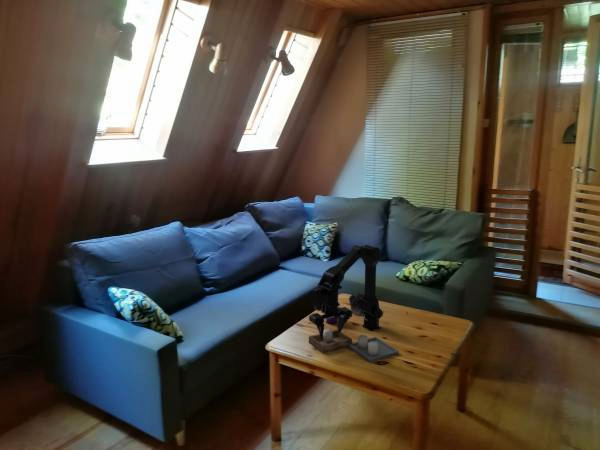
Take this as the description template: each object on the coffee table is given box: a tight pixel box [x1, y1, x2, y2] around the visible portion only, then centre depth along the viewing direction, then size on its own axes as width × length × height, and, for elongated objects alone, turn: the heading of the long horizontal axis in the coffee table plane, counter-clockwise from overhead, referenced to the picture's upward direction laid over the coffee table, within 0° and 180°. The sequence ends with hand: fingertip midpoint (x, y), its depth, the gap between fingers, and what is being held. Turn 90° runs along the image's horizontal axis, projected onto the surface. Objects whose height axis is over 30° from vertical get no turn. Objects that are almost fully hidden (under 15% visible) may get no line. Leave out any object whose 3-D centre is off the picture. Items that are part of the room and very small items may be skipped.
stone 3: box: [368, 342, 378, 356], centre depth 189 cm, size 4×4×4 cm
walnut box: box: [308, 328, 353, 354], centre depth 199 cm, size 15×11×3 cm
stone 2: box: [357, 334, 369, 349], centre depth 195 cm, size 4×4×4 cm
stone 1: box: [323, 328, 333, 343], centre depth 200 cm, size 4×4×4 cm
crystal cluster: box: [348, 293, 366, 317], centre depth 234 cm, size 13×14×10 cm
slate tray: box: [347, 336, 400, 364], centre depth 194 cm, size 15×15×1 cm
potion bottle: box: [325, 306, 341, 325], centre depth 220 cm, size 9×9×12 cm
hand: (330, 334), depth 198 cm, fingers open, 9 cm apart
